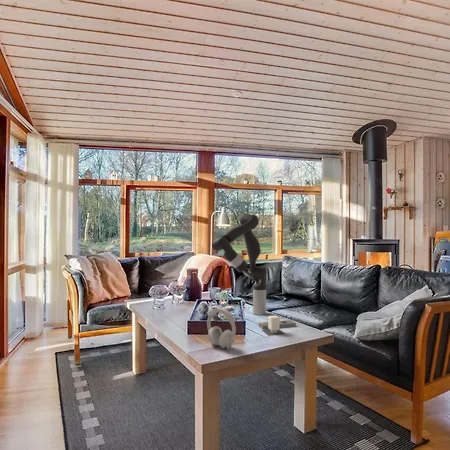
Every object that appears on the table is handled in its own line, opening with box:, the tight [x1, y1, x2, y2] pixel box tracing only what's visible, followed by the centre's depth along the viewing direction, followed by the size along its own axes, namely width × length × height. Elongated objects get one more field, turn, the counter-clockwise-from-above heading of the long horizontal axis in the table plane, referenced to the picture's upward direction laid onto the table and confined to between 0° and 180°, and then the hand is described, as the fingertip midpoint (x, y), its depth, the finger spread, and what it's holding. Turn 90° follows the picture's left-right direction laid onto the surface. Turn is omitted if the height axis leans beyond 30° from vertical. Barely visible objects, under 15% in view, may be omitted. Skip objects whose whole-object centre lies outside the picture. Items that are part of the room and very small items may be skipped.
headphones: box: [206, 307, 237, 350], centre depth 189 cm, size 19×8×20 cm, turn 47°
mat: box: [261, 328, 287, 337], centre depth 213 cm, size 11×11×1 cm
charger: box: [267, 315, 281, 333], centre depth 213 cm, size 5×5×9 cm
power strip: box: [257, 319, 297, 330], centre depth 225 cm, size 7×22×3 cm, turn 107°
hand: (255, 280), depth 225 cm, fingers open, 8 cm apart
